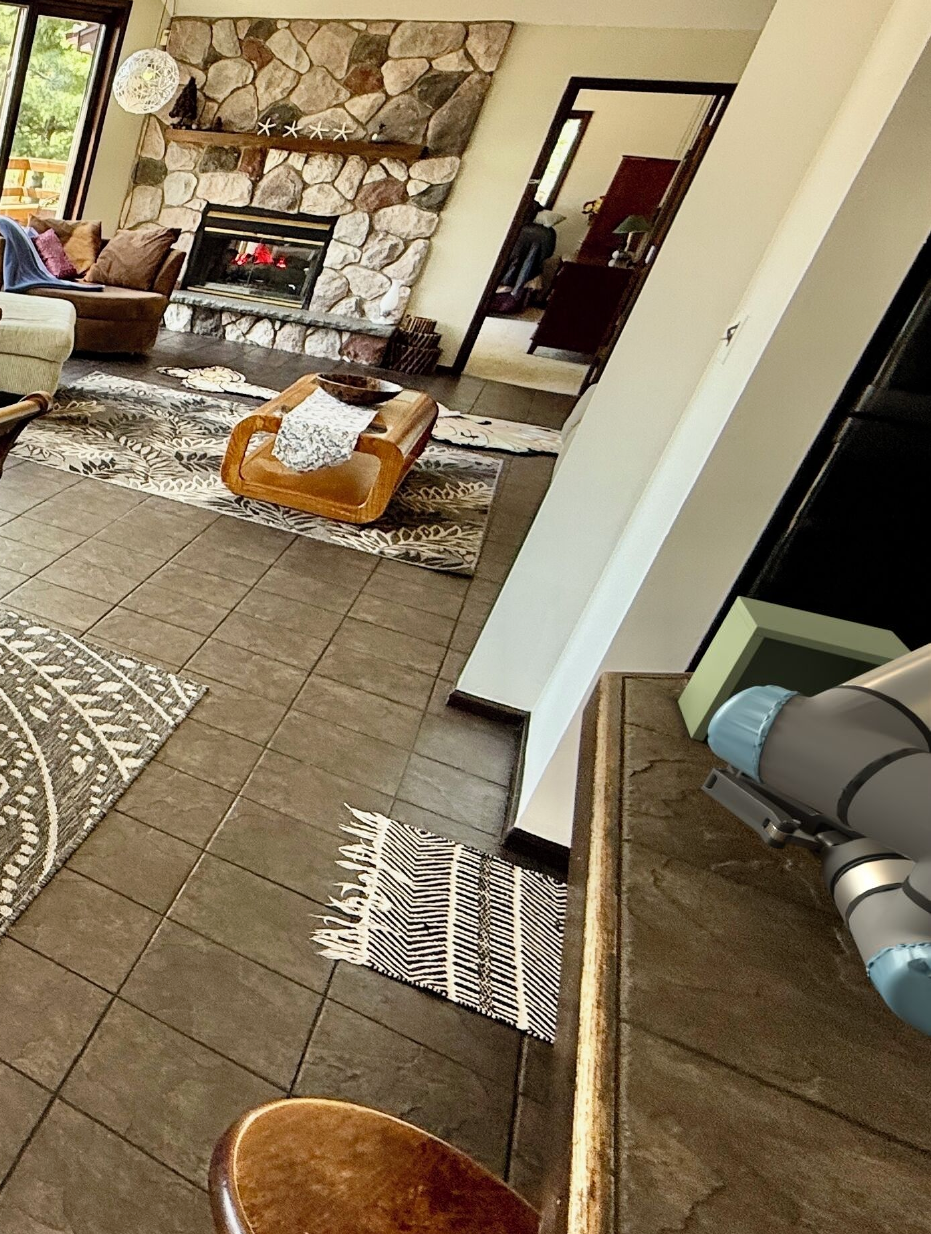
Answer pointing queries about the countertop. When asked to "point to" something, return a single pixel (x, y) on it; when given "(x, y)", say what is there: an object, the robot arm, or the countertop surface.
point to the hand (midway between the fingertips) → (836, 787)
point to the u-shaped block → (781, 656)
